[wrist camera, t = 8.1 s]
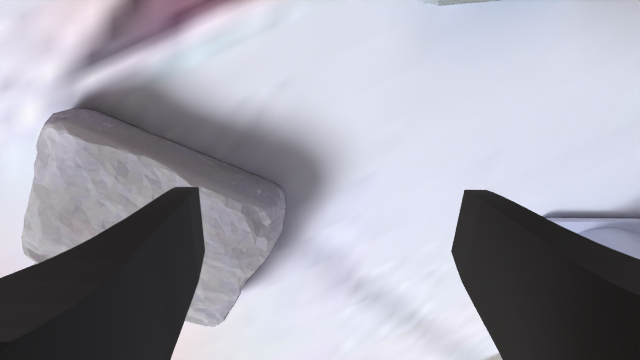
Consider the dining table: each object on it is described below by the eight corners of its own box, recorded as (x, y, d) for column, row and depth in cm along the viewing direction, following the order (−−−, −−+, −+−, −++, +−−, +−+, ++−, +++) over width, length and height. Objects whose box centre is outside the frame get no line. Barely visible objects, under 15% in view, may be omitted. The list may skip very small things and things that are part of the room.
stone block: (241, 284, 28) (301, 176, 22) (222, 350, 24) (289, 239, 18) (58, 219, 26) (74, 80, 20) (5, 280, 22) (6, 129, 16)
